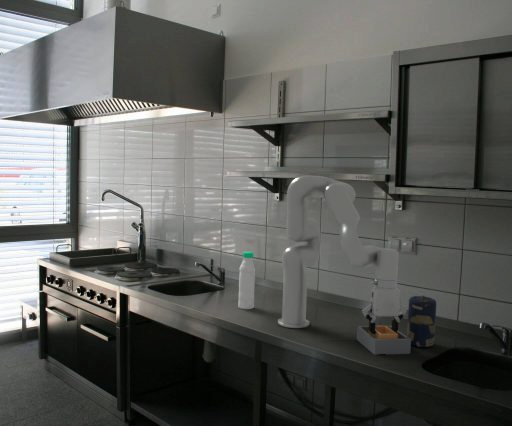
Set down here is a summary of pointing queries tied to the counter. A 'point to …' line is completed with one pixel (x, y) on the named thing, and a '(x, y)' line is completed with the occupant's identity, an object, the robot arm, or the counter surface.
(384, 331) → the small crate
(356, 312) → the counter surface
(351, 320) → the counter surface
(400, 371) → the counter surface
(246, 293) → the water bottle
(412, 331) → the canister
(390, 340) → the big crate
